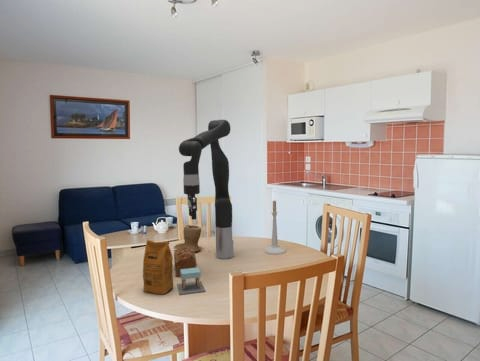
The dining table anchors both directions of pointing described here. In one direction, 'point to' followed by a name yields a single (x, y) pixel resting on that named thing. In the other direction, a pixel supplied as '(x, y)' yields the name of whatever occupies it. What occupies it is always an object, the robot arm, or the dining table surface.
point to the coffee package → (157, 267)
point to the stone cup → (190, 238)
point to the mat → (190, 288)
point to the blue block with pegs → (190, 276)
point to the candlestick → (274, 236)
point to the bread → (184, 259)
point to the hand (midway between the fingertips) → (192, 217)
